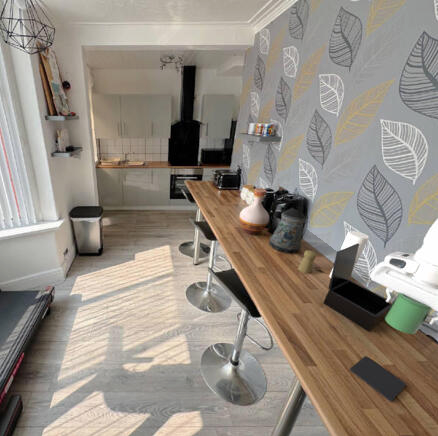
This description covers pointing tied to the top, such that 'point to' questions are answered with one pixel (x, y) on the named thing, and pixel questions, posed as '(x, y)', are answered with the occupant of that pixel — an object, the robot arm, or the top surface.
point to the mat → (378, 378)
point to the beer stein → (288, 231)
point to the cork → (307, 262)
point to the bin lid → (343, 265)
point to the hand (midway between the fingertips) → (408, 311)
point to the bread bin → (358, 304)
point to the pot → (407, 314)
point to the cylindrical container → (353, 239)
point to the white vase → (255, 214)
